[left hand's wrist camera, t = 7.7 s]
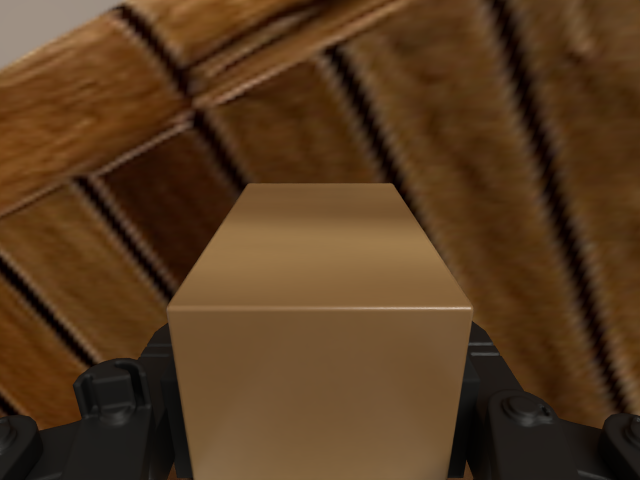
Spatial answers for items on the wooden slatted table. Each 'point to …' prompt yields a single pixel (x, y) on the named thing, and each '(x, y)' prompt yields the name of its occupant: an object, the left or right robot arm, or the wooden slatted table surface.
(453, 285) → the bar
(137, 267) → the wooden slatted table surface
